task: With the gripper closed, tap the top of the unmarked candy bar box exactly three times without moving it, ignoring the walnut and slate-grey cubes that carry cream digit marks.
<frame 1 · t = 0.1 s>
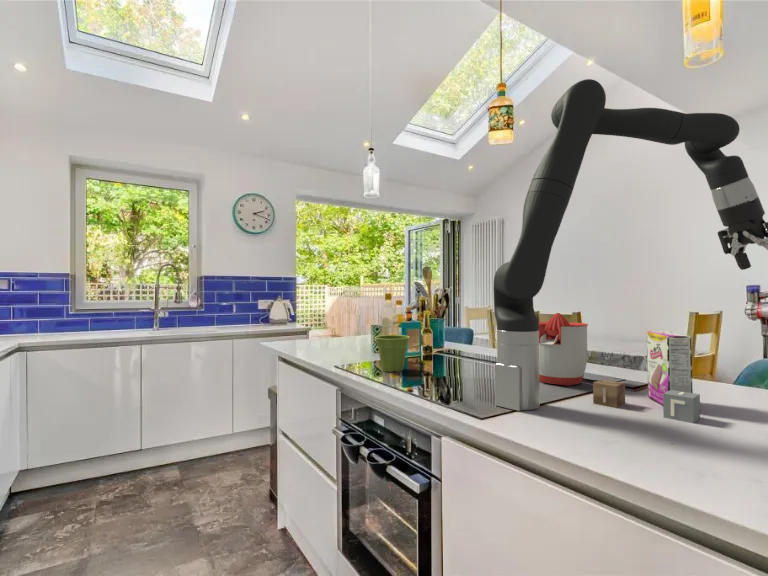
hand: (762, 267, 94), 31 cm above the counter, tool tilted 20°, fingers open, 8 cm apart
plant pot: (392, 371, 137), on the counter
candy bar box: (668, 405, 94), on the counter
slate digit cube: (681, 418, 84), on the counter
walnut digit cube: (609, 404, 94), on the counter
citrus juicer: (557, 383, 117), on the counter
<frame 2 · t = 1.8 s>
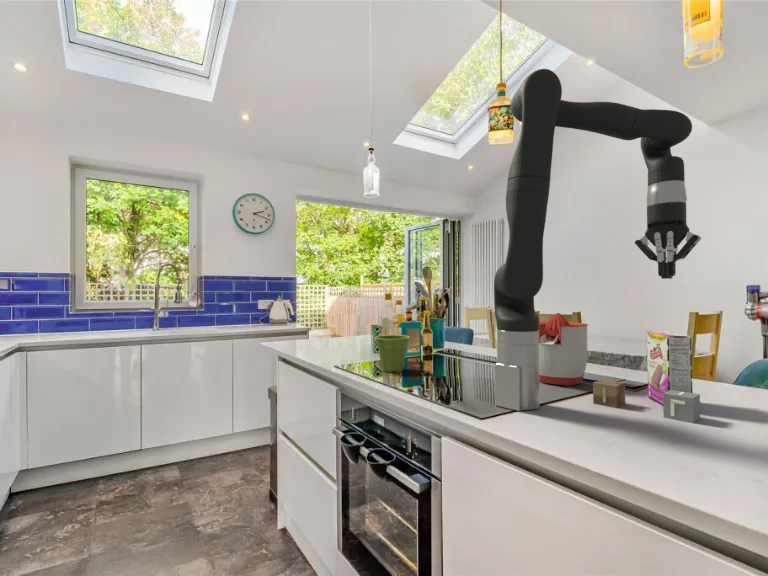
hand: (667, 278, 94), 29 cm above the counter, tool pointing down, fingers closed
nothing on the counter moved.
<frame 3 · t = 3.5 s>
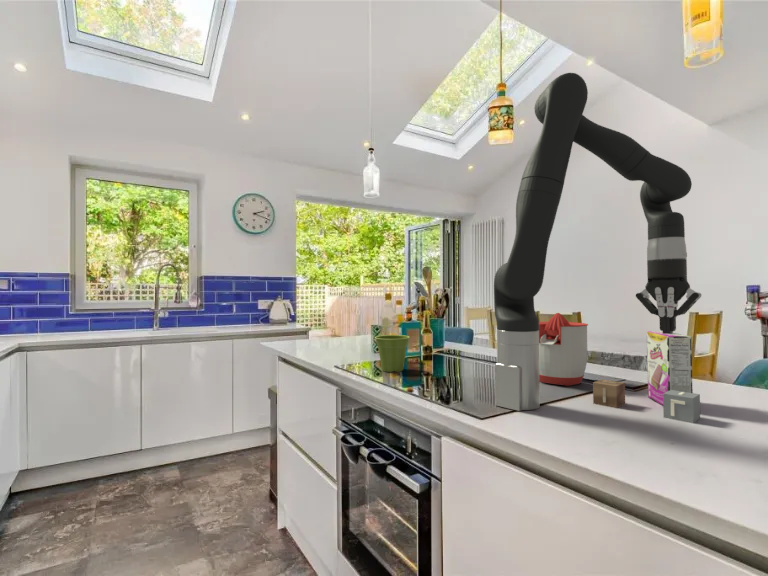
hand: (668, 333, 94), 16 cm above the counter, tool pointing down, fingers closed
candy bar box: (668, 405, 94), on the counter, touching gripper
everything else where it was.
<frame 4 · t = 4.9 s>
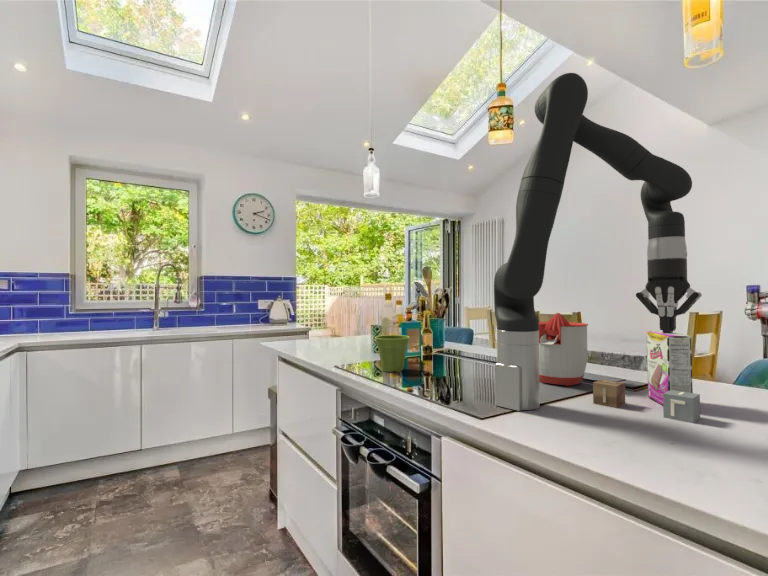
hand: (668, 332, 94), 16 cm above the counter, tool pointing down, fingers closed
nothing on the counter moved.
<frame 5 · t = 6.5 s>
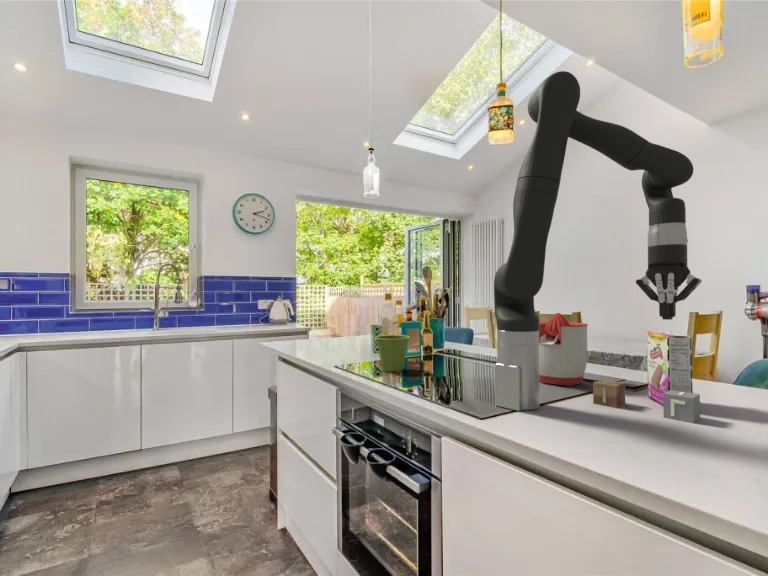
hand: (667, 319, 94), 20 cm above the counter, tool pointing down, fingers closed
candy bar box: (668, 405, 94), on the counter
everything else where it was.
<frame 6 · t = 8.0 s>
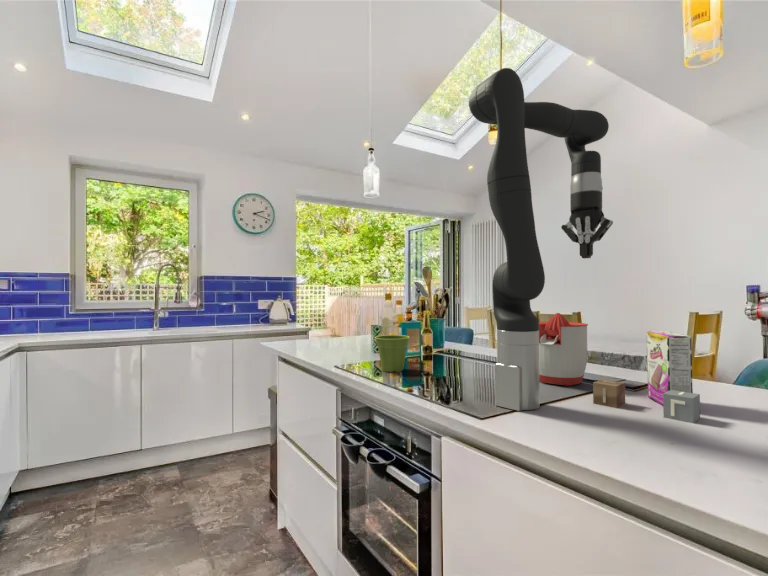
hand: (586, 258, 107), 35 cm above the counter, tool pointing down, fingers closed
nothing on the counter moved.
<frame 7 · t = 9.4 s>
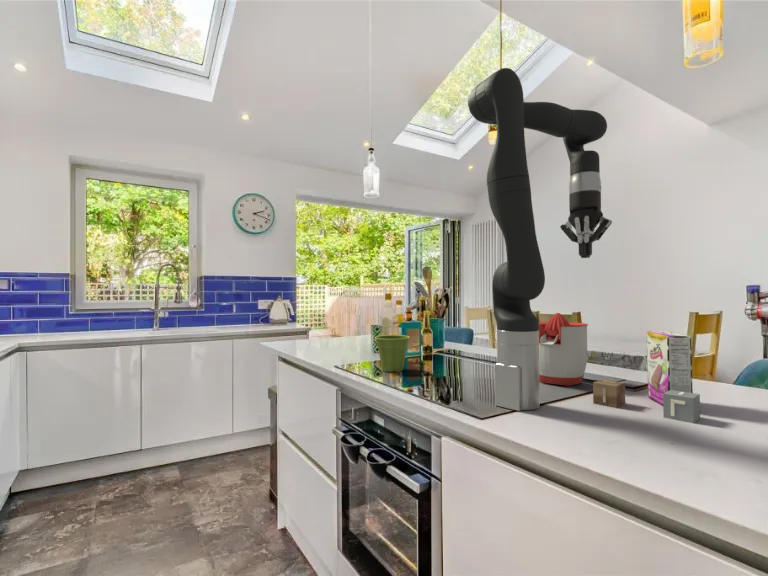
hand: (585, 257, 108), 35 cm above the counter, tool pointing down, fingers closed
nothing on the counter moved.
at the end: candy bar box moved 0.2 cm from its start; candy bar box tilted 0°; walnut digit cube moved 0.1 cm from its start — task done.
